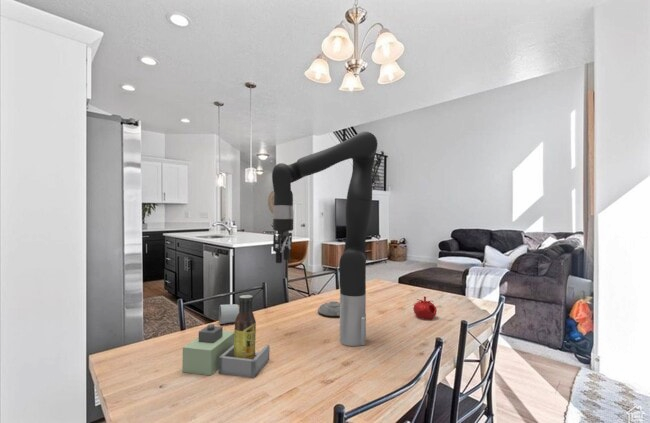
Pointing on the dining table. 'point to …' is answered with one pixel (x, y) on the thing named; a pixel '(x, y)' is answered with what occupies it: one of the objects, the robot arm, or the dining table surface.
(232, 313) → the white cylinder
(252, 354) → the sauce bottle
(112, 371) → the dining table surface
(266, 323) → the dining table surface
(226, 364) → the knobbed green block
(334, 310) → the flying saucer
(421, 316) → the red round fruit
